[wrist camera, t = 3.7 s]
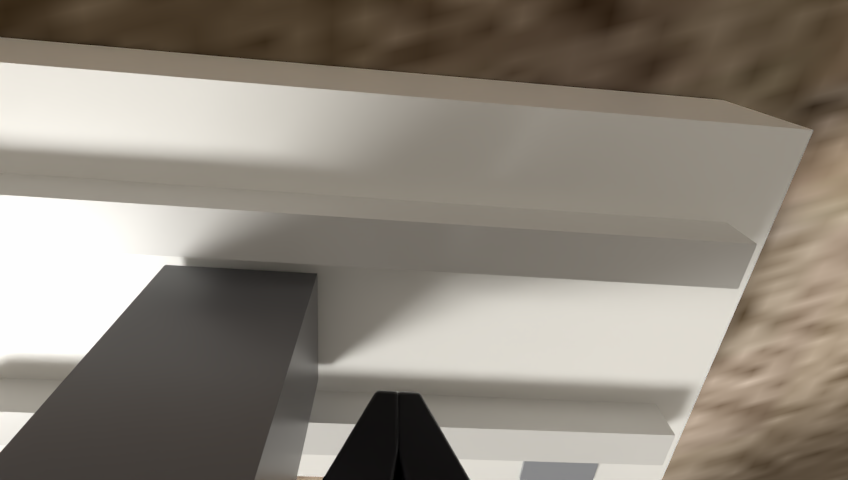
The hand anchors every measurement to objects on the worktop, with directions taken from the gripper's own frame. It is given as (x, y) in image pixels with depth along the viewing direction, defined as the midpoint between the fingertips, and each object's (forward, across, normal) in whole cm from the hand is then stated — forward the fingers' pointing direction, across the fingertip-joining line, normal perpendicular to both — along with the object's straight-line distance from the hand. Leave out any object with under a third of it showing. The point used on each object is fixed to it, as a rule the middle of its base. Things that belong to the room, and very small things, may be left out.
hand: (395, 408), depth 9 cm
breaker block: (+6, +1, 0) cm, 6 cm away
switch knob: (+2, +3, 0) cm, 4 cm away
